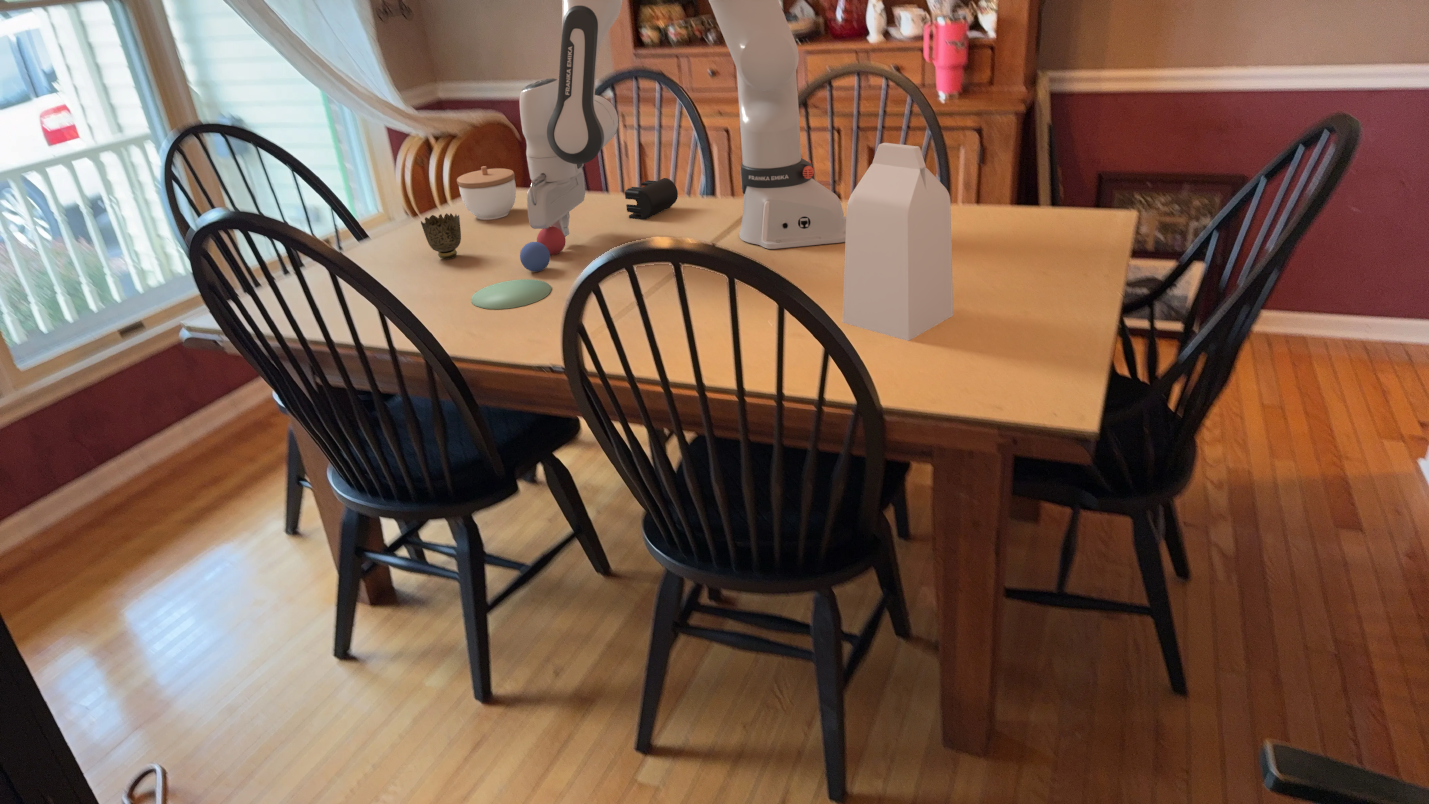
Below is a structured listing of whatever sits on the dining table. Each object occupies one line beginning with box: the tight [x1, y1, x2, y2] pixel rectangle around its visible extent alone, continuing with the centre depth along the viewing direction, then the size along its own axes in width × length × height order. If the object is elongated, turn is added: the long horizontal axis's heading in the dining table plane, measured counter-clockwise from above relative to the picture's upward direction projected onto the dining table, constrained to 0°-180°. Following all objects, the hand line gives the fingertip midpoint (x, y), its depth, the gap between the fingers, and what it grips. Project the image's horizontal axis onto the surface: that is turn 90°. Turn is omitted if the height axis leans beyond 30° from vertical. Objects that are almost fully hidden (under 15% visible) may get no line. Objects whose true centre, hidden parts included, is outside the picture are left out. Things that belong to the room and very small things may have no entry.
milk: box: [842, 142, 954, 342], centre depth 138 cm, size 12×12×26 cm
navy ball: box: [519, 241, 551, 273], centre depth 177 cm, size 6×6×6 cm
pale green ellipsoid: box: [470, 278, 552, 310], centre depth 168 cm, size 14×14×1 cm
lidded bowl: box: [456, 165, 517, 221], centre depth 213 cm, size 13×13×11 cm
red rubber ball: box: [536, 226, 567, 256], centre depth 185 cm, size 6×6×6 cm
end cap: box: [624, 177, 679, 221], centre depth 205 cm, size 10×7×7 cm
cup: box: [420, 213, 462, 260], centre depth 188 cm, size 8×7×8 cm
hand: (562, 237), depth 190 cm, fingers closed
